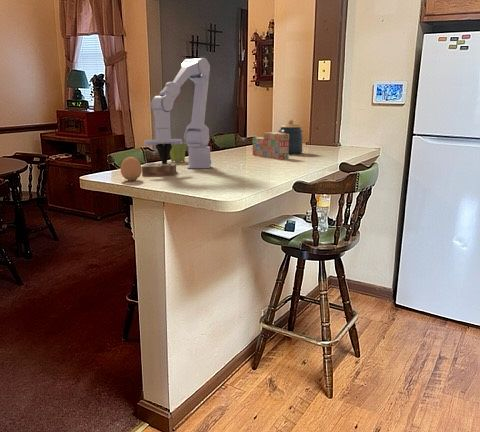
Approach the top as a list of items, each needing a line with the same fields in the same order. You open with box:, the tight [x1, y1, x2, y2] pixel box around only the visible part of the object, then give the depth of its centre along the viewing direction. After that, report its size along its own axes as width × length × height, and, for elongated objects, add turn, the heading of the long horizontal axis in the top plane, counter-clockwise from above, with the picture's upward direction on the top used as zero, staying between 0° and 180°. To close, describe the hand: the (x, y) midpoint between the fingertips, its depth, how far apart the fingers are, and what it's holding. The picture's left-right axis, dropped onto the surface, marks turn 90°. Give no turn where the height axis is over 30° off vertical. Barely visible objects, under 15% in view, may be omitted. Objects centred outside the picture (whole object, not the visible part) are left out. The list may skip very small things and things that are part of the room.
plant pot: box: [169, 141, 187, 163], centre depth 218 cm, size 9×9×9 cm
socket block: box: [141, 162, 177, 177], centre depth 184 cm, size 12×10×4 cm
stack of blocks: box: [251, 131, 290, 161], centre depth 234 cm, size 21×6×12 cm, turn 36°
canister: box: [277, 119, 304, 156], centre depth 249 cm, size 13×13×18 cm
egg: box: [120, 156, 142, 182], centre depth 167 cm, size 7×7×8 cm
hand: (164, 163), depth 183 cm, fingers closed, pressing on peg
